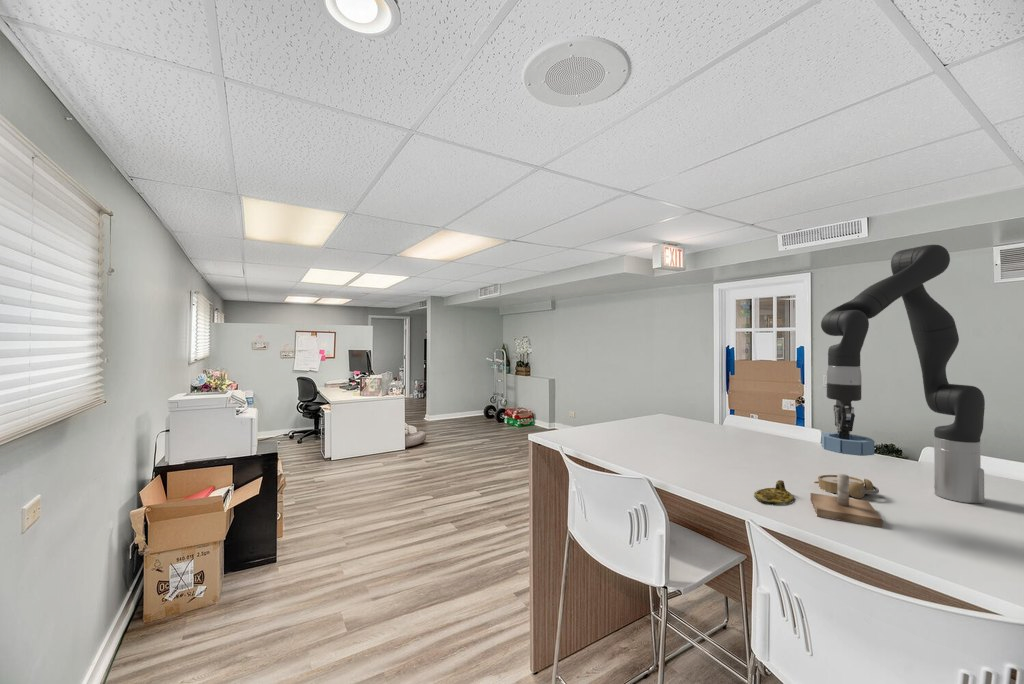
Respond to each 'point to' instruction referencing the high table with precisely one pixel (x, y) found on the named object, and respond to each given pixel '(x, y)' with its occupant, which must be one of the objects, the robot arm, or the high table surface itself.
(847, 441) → the rubber loop
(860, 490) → the alarm clock
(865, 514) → the wooden peg stand
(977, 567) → the high table surface
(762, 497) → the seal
